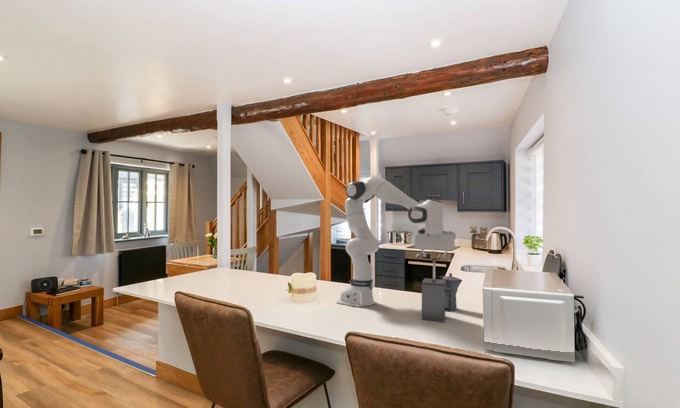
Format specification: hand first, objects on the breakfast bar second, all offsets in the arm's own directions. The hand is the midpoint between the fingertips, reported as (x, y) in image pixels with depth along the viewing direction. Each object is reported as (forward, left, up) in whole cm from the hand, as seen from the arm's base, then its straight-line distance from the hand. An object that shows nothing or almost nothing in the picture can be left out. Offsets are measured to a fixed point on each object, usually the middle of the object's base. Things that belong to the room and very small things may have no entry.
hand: (434, 257), depth 181 cm
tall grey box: (+2, 0, -31) cm, 31 cm away
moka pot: (+6, +20, -31) cm, 38 cm away
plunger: (0, 0, -20) cm, 20 cm away
